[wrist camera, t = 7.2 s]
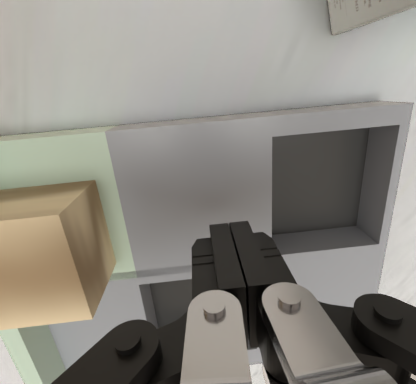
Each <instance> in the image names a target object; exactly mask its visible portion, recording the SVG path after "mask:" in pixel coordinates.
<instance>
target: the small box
mask: <svg viewBox="0 0 416 384" xmlns="http://www.w3.org/2000/svg"><path fill="white" fill-rule="evenodd" d="M328 7H329V15H330V22H331V32H332V34H333V35H337V34H340V33H343V32H346V31H349V30H352V29H355V28H358V27H361V26H364V25H367V24H369V23H372V22H375V21H378V20H380V19H383V18H386V17H389V16H391V15H394V14H397V13H400V12H403V11H405V10H408V9H411V8H414V7H416V0H328Z"/></svg>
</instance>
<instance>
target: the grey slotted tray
mask: <svg viewBox="0 0 416 384" xmlns="http://www.w3.org/2000/svg"><path fill="white" fill-rule="evenodd" d="M412 108H413V103H408V102H389V101H373V102H363V103H352V104H341V105H330V106H320V107H309V108H298V109H287V110H276V111H266V112H255V113H244V114H233V115H222V116H212V117H201V118H190V119H179V120H169V121H158V122H147V123H136V124H125V125H115V126H104V127H93V128H82V129H71V130H61V131H50V132H39V133H28V134H18V135H7V136H0V190H3V189H12V188H22V187H32V186H41V185H51V184H61V183H70V182H80V181H89V180H95V181H96V185H97V189H98V192H99V196H100V200H101V204H102V208H103V212H104V216H105V220H106V224H107V228H108V231H109V235H110V239H111V243H112V247H113V251H114V255H115V259H116V265H115V268H114V270H113V272H112V275H111V277H110V279H109V282H108V284H107V286H106V289H105V291H104V294H103V296H102V298H101V301H100V303H99V305H98V308H97V310H96V313H95V315H94V317H93V319H91V320H83V321H74V322H66V323H57V324H49V325H41V326H32V327H24V328H16V329H7V330H0V336H1V338H2V340H3V342H4V344H5V346H6V348H7V350H8V352H9V354H10V356H11V358H12V360H13V362H14V364H15V366H16V368H17V370H18V372H19V374H20V376H21V378H22V380H23V382H24V384H51V383H52V382H53V381H54V380H55V379H57V378H58V377H59V376H60V375H61V374H62V373H63V372H64V371H66V370H67V369H68V368H69V367H70V366H71V365H72V364H73V363H75V362H76V361H77V360H78V359H79V358H80V357H81V356H82V355H84V354H85V353H86V352H87V351H88V350H89V349H90V348H91V347H93V346H94V345H95V344H96V343H97V342H98V341H99V340H100V339H102V338H103V337H104V336H105V335H106V334H107V333H108V332H109V331H111V330H112V329H113V328H114V327H116V326H118V325H119V324H121V323H124V322H126V321H130V320H137V319H140V320H146V321H148V322H150V323H152V324H153V325H154V326H155V327H156V329H157V328H160V327H162V326H165V325H167V324H170V323H172V322H174V321H176V320H177V319H179V318H180V317H182V316H183V315H184V314H185V313H186V312H187V310H188V307H189V305H190V303H191V301H192V246H193V244H194V243H195V241H196V240H197V239H201V238H210V229H209V225H211V224H221V223H228V225H229V223H230V222H239V221H248V222H249V224H250V226H251V229H252V231H253V233H257V232H264V233H266V234H267V235H268V236H270V237H271V238H272V239H273V240H274V242H275V244H276V246H277V249H279V251H280V253H281V256H282V257H283V259H284V261H285V262H286V264H287V266H288V268H289V270H290V272H291V273H292V275H293V277H294V279H295V281H296V283H297V284H298V285H300V286H302V287H304V288H306V289H307V290H309V291H310V292H311V293H312V294H313V295H314V296H315V298H316V299H317V301H320V302H323V303H326V304H332V305H339V306H346V307H354V302H355V300H356V299H357V298H358V297H360V296H361V295H364V294H370V293H375V294H378V289H379V284H380V278H381V273H382V268H383V262H384V257H385V252H386V246H387V241H388V236H389V231H390V225H391V220H392V215H393V209H394V204H395V199H396V193H397V188H398V183H399V177H400V172H401V167H402V162H403V156H404V151H405V146H406V140H407V135H408V130H409V124H410V119H411V114H412ZM247 352H248V359H249V365H252V364H260V363H262V356H261V352H260V349H259V347H257V348H250V345H249V340H248V349H247Z"/></svg>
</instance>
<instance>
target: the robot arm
mask: <svg viewBox="0 0 416 384" xmlns="http://www.w3.org/2000/svg"><path fill="white" fill-rule="evenodd" d="M209 229H210V238H201V239H197V240H196V241H195V243H194V244H193V246H192V301H191V303H190V305H189V307H188V310H187V312H186V313H185V314H184V315H183V316H182V317H180V318H179V319H177V320H176V321H174V322H172V323H170V324H167V325H165V326H162V327H160V328H157V329H156V327H155V326H154V325H153V324H152V323H150V322H148V321H146V320H140V319H137V320H130V321H126V322H124V323H121V324H119V325H118V326H116V327H114V328H113V329H112V330H111V331H109V332H108V333H107V334H106V335H105V336H104V337H103V338H102V339H100V340H99V341H98V342H97V343H96V344H95V345H94V346H93V347H91V348H90V349H89V350H88V351H87V352H86V353H85V354H84V355H82V356H81V357H80V358H79V359H78V360H77V361H76V362H75V363H73V364H72V365H71V366H70V367H69V368H68V369H67V370H66V371H64V372H63V373H62V374H61V375H60V376H59V377H58V378H57V379H55V380H54V381H53V382H52V383H51V384H252V381H251V374H250V367H249V359H248V352H247V349H248V340H249V345H250V348H257V347H259V349H260V352H261V356H262V370H263V376H264V380H265V383H266V384H416V381H415V380H413V379H412V378H410V376H411V373H412V374H414V375H416V307H414V306H412V305H409V304H407V303H405V302H402V301H400V300H398V299H396V298H393V297H390V296H387V295H383V294H375V293H370V294H364V295H361V296H360V297H358V298H357V299H356V300H355V302H354V307H346V306H339V305H332V304H326V303H323V302H320V301H317V299H316V298H315V296H314V295H313V294H312V293H311V292H310V291H309V290H307V289H306V288H304V287H302V286H300V285H298V284H297V283H296V281H295V279H294V277H293V275H292V273H291V272H290V270H289V268H288V266H287V264H286V262H285V261H284V259H283V257H282V256H281V253H280V251H279V249H277V246H276V244H275V242H274V240H273V239H272V238H271V237H270V236H268V235H267V234H266V233H264V232H257V233H253V231H252V229H251V226H250V224H249V222H248V221H239V222H230V223H229V225H228V223H221V224H211V225H209Z"/></svg>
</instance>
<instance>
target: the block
mask: <svg viewBox="0 0 416 384" xmlns="http://www.w3.org/2000/svg"><path fill="white" fill-rule="evenodd" d="M115 265H116V259H115V255H114V251H113V247H112V243H111V239H110V235H109V231H108V228H107V224H106V220H105V216H104V212H103V208H102V204H101V200H100V196H99V192H98V189H97V185H96V181H95V180H89V181H80V182H70V183H61V184H51V185H41V186H32V187H22V188H12V189H3V190H0V330H7V329H16V328H24V327H32V326H41V325H49V324H57V323H66V322H74V321H83V320H91V319H93V317H94V315H95V313H96V310H97V308H98V305H99V303H100V301H101V298H102V296H103V294H104V291H105V289H106V286H107V284H108V282H109V279H110V277H111V275H112V272H113V270H114V268H115Z"/></svg>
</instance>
